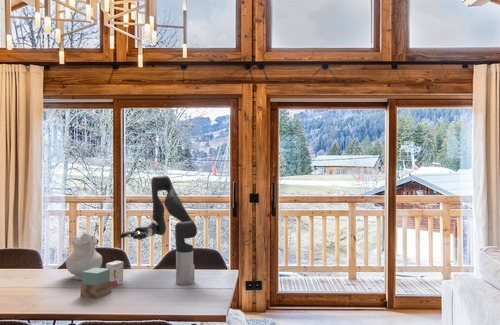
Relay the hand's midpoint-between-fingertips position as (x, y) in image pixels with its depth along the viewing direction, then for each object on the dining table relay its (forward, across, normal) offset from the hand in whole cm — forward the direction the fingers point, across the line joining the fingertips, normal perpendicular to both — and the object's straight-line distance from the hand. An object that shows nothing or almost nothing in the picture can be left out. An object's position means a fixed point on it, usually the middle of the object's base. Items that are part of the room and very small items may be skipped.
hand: (127, 236), depth 221 cm
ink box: (+11, 0, +24) cm, 27 cm away
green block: (+28, +2, +18) cm, 34 cm away
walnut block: (+28, +2, +24) cm, 37 cm away
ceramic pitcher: (+5, -24, +24) cm, 34 cm away
